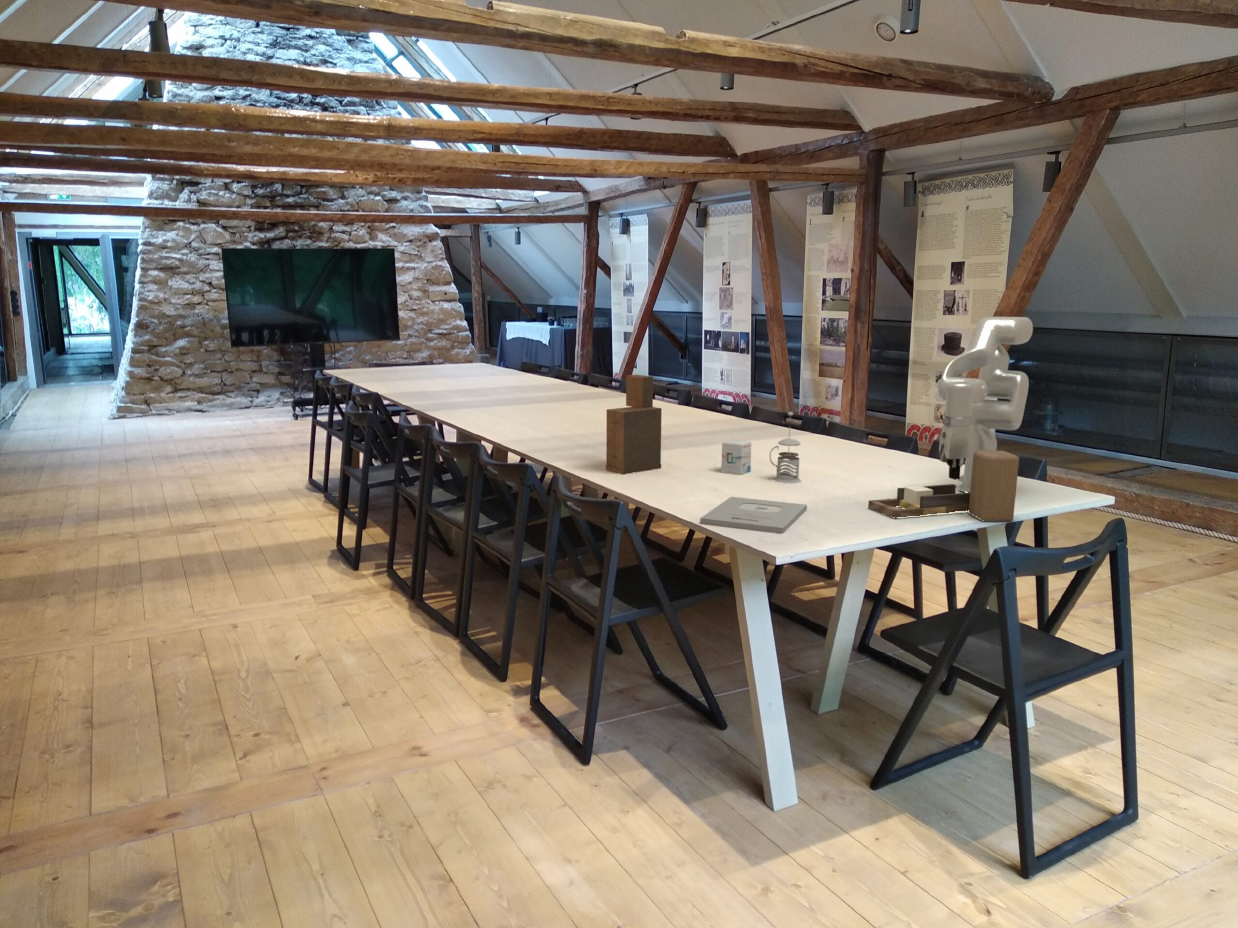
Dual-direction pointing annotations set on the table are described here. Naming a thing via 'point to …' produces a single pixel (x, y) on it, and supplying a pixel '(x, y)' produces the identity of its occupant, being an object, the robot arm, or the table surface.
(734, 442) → the ink box
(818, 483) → the table surface
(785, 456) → the french press
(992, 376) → the robot arm
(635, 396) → the stacked wooden blocks
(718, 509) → the award plaque
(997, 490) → the block
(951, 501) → the tunnel deck
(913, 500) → the cream block
